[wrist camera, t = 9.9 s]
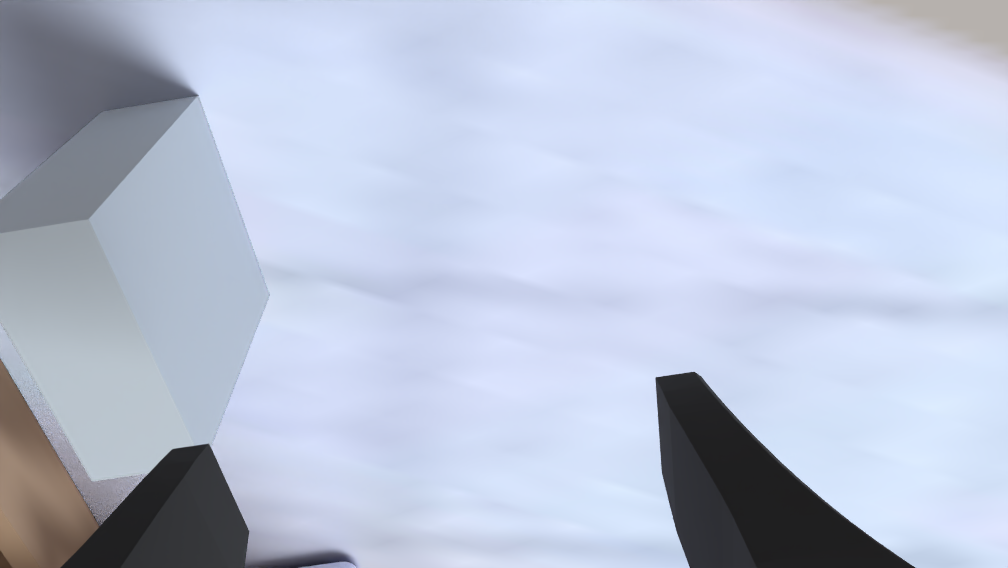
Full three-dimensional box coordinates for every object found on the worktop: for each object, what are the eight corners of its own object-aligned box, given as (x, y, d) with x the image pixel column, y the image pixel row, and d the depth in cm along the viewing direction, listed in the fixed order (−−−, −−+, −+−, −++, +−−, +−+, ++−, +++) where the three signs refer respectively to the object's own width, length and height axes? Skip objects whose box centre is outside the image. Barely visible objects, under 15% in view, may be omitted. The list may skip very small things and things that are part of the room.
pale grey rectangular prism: (269, 294, 23) (204, 465, 17) (186, 307, 24) (92, 481, 18) (198, 94, 20) (88, 219, 14) (102, 110, 20) (-47, 240, 14)
